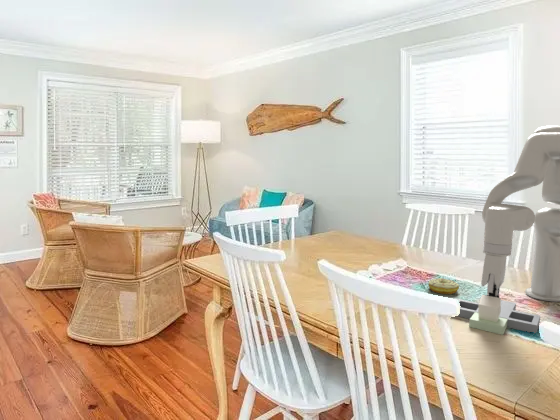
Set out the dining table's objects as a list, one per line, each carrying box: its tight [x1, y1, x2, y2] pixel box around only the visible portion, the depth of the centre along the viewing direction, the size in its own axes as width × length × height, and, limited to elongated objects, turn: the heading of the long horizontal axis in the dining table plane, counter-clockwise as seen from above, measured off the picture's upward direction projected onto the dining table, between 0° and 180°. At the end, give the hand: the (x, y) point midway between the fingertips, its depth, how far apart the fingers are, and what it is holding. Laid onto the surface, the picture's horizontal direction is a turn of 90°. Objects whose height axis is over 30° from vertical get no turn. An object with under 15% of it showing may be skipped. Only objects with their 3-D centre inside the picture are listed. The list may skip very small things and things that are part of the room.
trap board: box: [456, 298, 541, 336], centre depth 134 cm, size 23×24×2 cm
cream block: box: [478, 294, 502, 322], centre depth 127 cm, size 5×5×5 cm
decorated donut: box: [428, 277, 460, 295], centre depth 159 cm, size 10×11×4 cm
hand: (491, 307), depth 131 cm, fingers closed
